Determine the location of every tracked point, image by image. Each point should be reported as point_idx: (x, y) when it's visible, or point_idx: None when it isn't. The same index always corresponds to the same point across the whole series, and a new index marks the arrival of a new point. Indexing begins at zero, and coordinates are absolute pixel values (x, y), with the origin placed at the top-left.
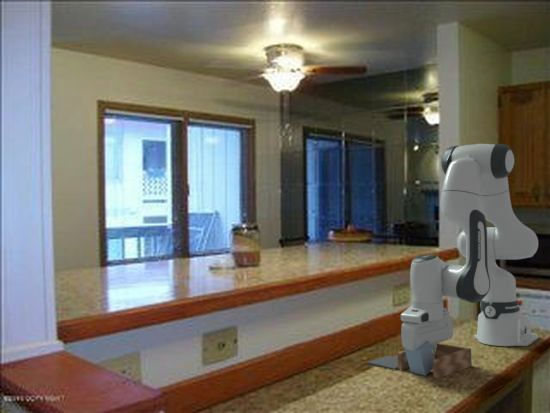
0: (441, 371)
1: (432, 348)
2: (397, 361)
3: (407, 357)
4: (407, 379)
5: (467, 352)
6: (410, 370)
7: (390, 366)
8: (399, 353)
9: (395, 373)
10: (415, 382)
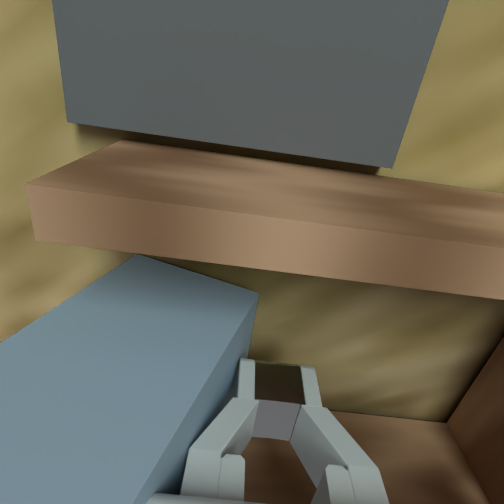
0: None
1: (321, 474)
2: (299, 8)
3: (25, 333)
4: (10, 295)
5: None
6: (127, 260)
7: (84, 56)
8: (37, 215)
9: (41, 165)
10: None
